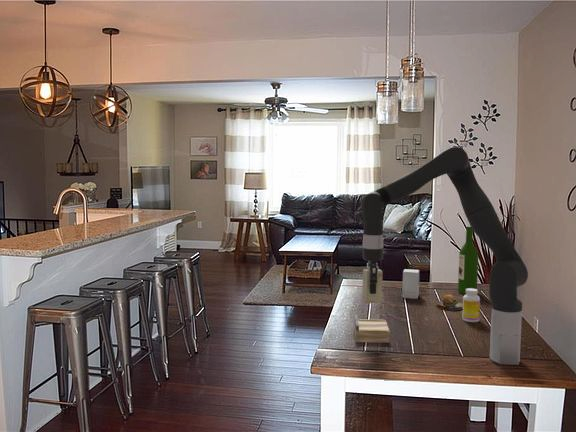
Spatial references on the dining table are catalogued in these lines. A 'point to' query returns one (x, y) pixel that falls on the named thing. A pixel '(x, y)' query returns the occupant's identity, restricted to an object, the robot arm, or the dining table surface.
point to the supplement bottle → (471, 306)
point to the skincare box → (366, 294)
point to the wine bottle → (468, 264)
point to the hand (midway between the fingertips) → (372, 291)
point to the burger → (450, 303)
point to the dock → (371, 330)
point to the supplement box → (410, 284)
